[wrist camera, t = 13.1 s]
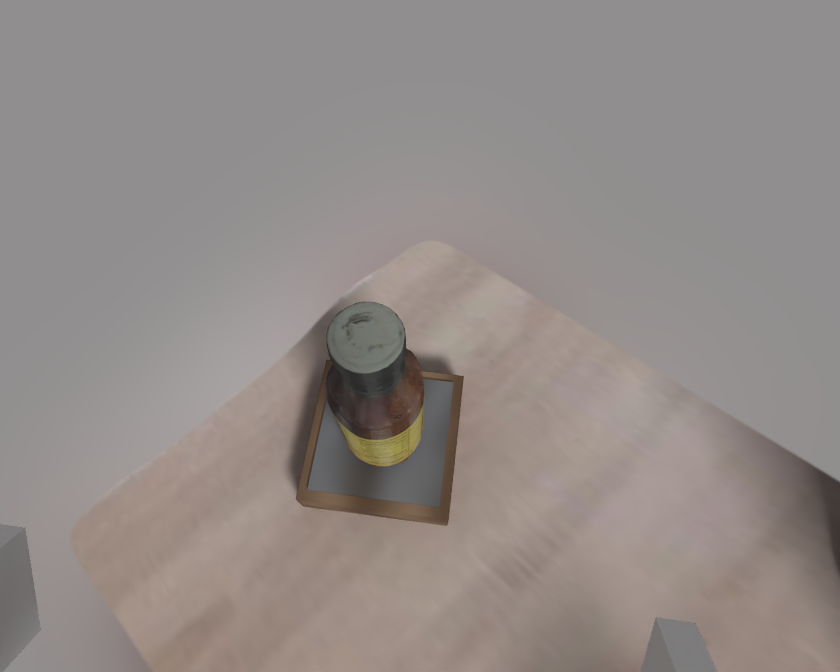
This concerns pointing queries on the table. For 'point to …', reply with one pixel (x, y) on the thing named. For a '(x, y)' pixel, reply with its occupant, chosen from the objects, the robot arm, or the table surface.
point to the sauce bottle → (374, 384)
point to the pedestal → (392, 485)
